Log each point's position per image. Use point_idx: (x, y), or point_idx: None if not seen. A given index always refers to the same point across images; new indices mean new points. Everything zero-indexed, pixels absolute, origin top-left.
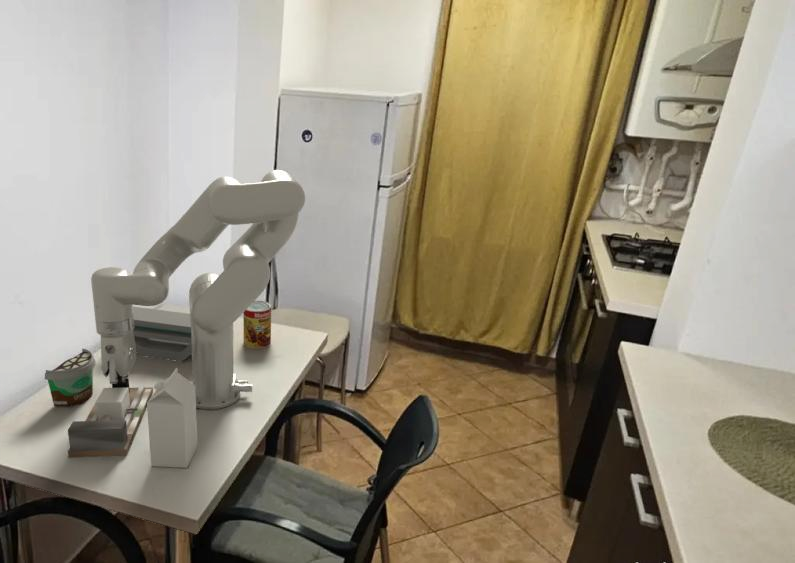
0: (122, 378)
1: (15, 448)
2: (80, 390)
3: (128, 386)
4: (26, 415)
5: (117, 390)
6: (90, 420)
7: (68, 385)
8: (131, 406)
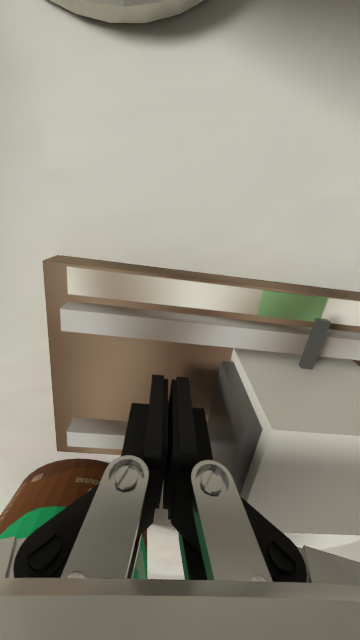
0: (243, 524)
1: (313, 541)
2: None
3: (162, 406)
4: (174, 554)
5: (288, 477)
6: None
7: None
8: (264, 346)
